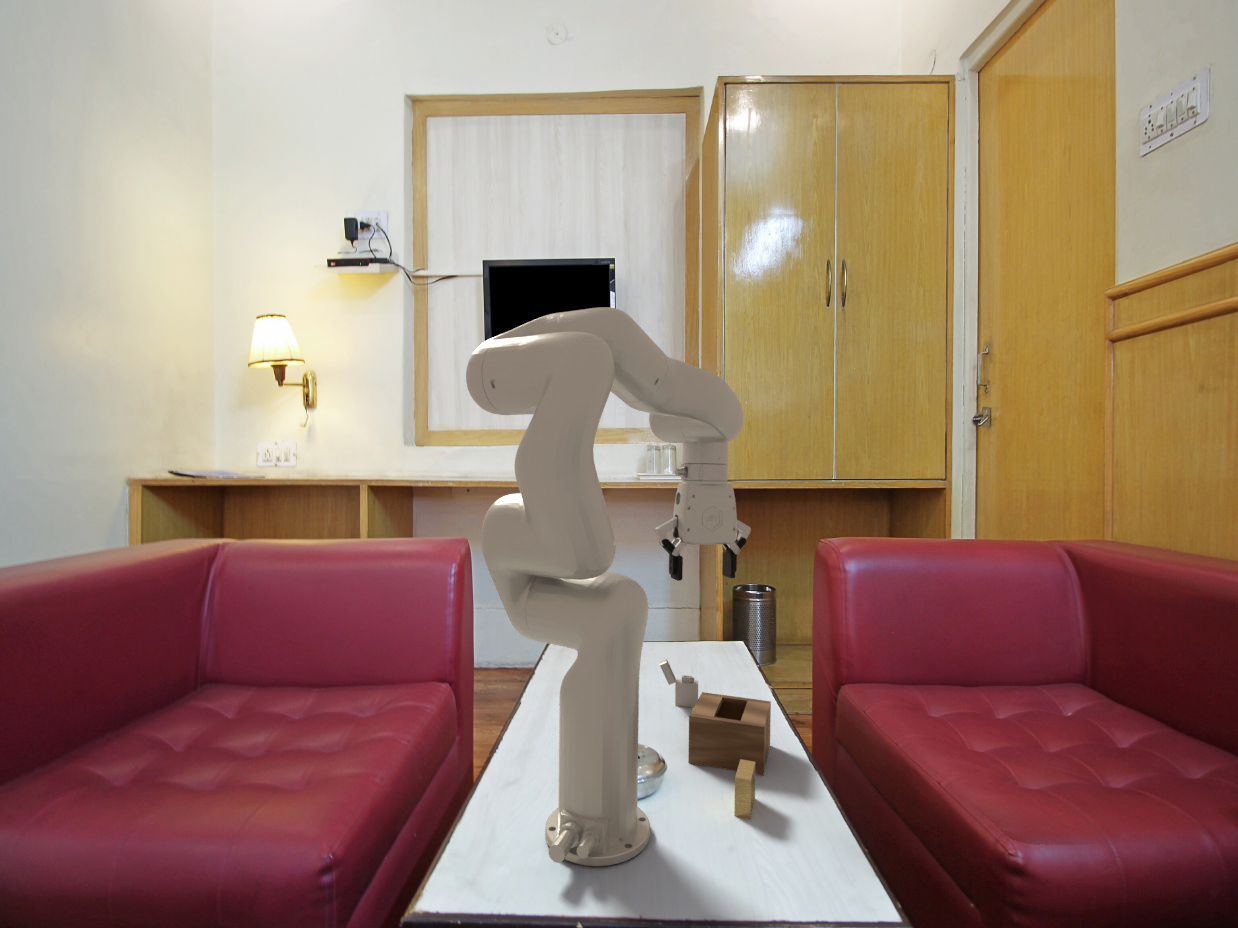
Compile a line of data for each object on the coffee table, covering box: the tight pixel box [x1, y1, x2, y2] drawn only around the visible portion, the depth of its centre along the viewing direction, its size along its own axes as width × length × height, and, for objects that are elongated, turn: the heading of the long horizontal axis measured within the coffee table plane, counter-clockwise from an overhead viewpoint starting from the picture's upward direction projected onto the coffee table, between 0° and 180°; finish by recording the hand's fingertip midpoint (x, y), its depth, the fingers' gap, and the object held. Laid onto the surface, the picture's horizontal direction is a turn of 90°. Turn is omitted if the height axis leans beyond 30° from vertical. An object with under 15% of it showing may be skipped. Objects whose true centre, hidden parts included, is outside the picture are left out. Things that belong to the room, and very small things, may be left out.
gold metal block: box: [734, 759, 756, 820], centre depth 81 cm, size 5×2×5 cm, turn 161°
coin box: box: [687, 691, 772, 776], centre depth 95 cm, size 10×11×7 cm
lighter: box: [659, 659, 699, 708], centre depth 114 cm, size 7×2×8 cm, turn 82°
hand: (702, 578), depth 103 cm, fingers open, 9 cm apart
